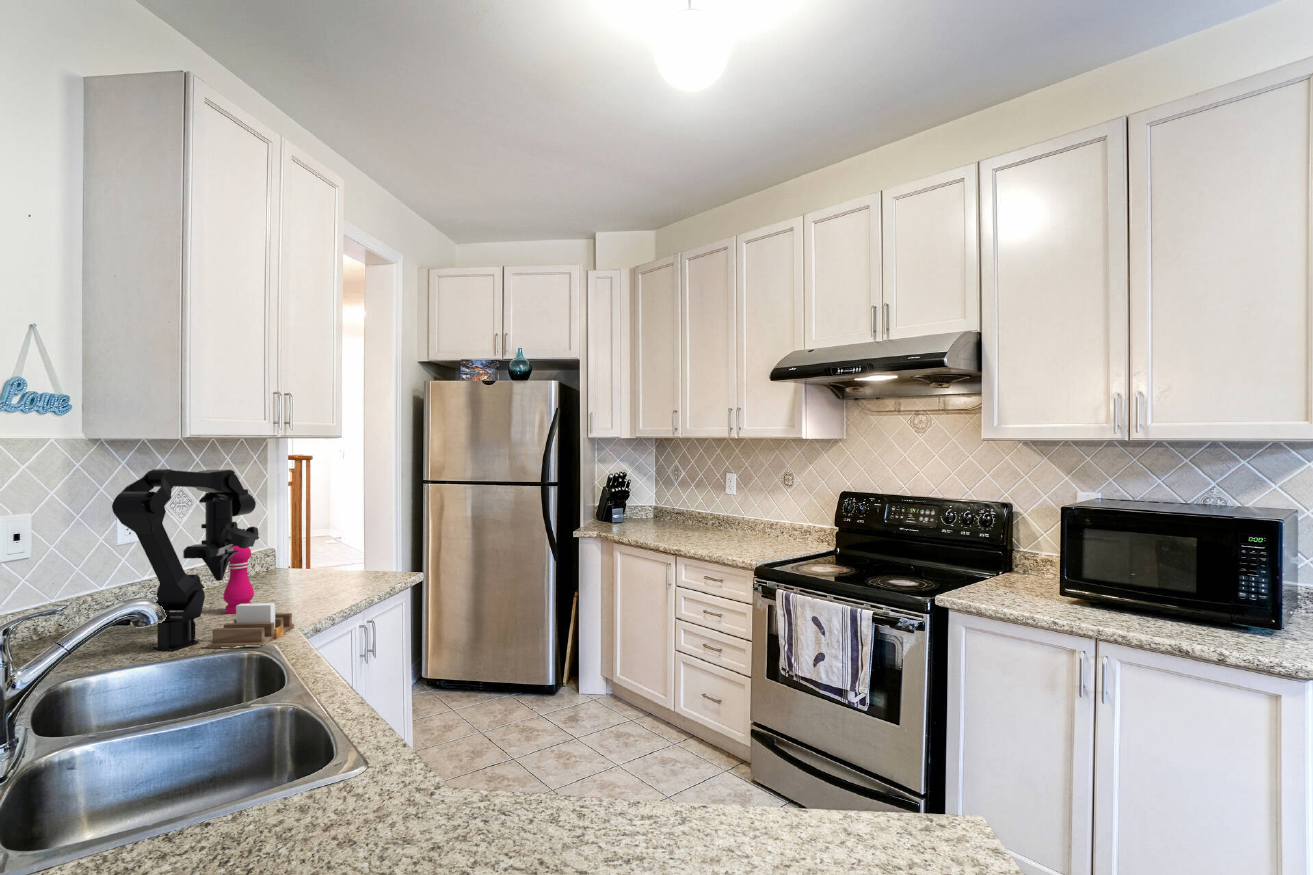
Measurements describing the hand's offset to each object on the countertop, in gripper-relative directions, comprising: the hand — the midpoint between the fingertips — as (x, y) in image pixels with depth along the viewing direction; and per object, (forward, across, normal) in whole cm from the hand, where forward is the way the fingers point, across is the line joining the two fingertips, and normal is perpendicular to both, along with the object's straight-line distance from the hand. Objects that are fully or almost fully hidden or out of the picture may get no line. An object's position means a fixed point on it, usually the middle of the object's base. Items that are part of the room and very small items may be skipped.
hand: (219, 580), depth 167 cm
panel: (+11, -9, -14) cm, 20 cm away
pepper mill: (+12, +17, +5) cm, 21 cm away
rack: (+12, -9, -14) cm, 20 cm away
